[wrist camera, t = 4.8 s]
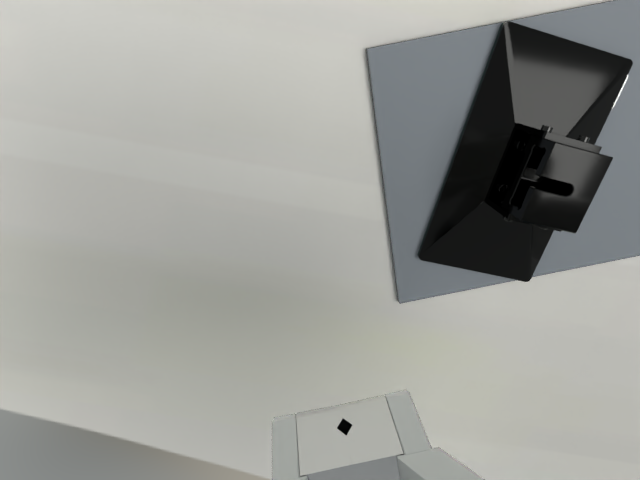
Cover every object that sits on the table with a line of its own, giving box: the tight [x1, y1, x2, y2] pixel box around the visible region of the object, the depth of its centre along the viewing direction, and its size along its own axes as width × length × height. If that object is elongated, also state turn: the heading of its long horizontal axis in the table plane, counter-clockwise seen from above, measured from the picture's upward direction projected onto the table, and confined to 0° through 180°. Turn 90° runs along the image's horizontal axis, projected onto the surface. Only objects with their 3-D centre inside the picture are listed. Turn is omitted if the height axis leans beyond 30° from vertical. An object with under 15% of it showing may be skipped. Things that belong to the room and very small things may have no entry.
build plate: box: [417, 21, 633, 282], centre depth 22 cm, size 12×7×5 cm, turn 165°
